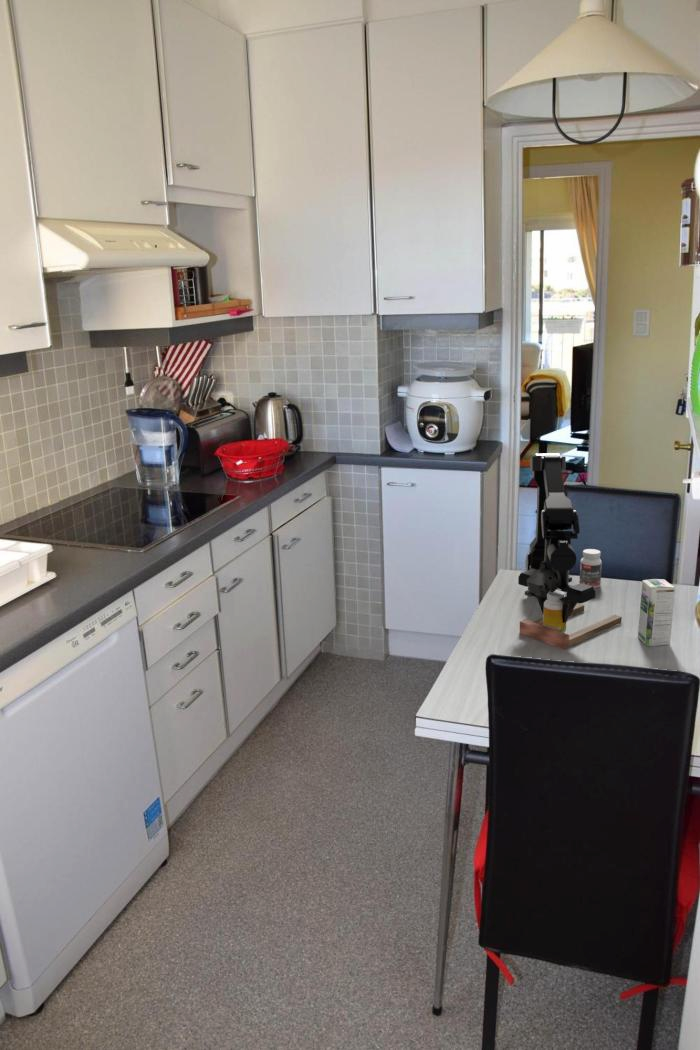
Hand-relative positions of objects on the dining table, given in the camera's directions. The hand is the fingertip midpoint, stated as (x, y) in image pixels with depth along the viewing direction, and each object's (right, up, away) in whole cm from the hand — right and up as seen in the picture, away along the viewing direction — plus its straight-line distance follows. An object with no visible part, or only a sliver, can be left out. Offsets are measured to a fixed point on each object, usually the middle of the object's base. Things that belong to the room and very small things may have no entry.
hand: (554, 619), depth 203 cm
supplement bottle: (0, -3, +1) cm, 3 cm away
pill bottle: (+18, +6, +33) cm, 38 cm away
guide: (+6, -2, +6) cm, 8 cm away
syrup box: (+22, -5, -4) cm, 23 cm away
